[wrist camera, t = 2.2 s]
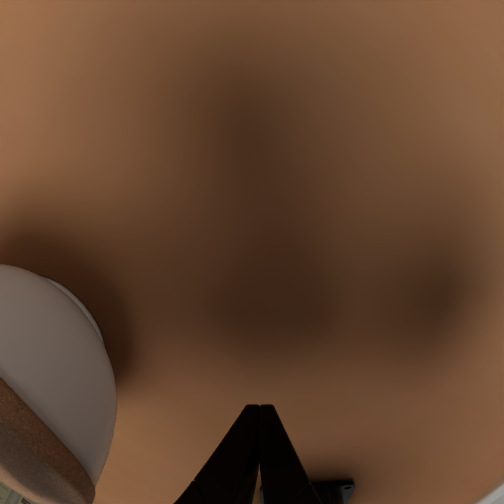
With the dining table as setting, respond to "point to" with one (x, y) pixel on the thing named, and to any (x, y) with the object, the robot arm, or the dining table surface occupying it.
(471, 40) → the dining table surface
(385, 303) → the dining table surface
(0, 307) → the lidded jar
